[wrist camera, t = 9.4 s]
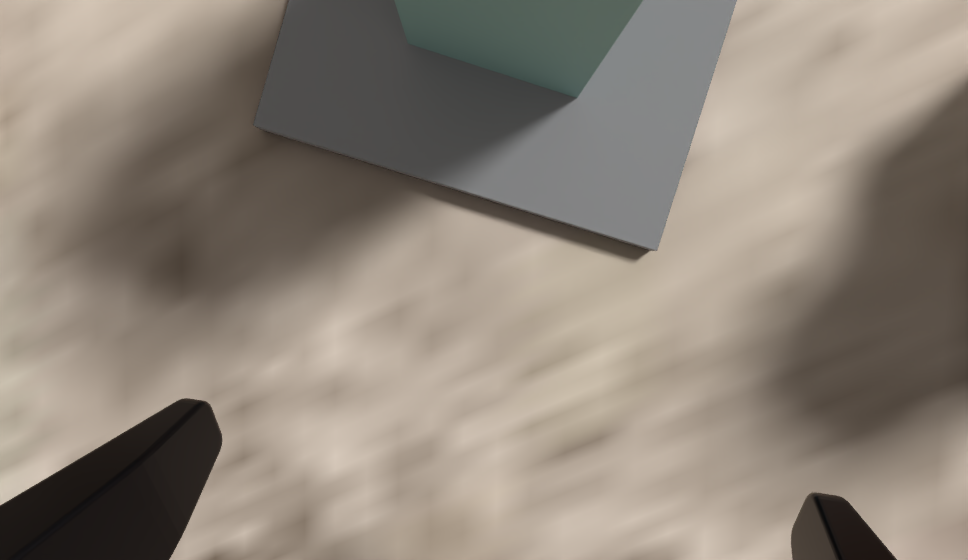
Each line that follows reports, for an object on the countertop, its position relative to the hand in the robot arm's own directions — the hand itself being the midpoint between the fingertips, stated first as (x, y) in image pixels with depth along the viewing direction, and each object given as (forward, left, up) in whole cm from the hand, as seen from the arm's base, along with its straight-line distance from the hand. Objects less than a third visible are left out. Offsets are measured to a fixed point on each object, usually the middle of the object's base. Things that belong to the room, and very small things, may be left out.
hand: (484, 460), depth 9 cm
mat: (+7, +8, -9) cm, 14 cm away
